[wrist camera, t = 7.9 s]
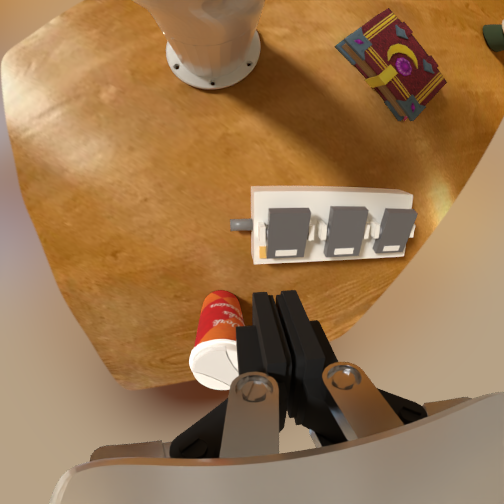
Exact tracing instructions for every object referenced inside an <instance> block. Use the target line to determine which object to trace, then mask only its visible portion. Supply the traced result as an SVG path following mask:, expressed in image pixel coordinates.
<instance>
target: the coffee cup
mask: <svg viewBox="0 0 504 504" xmlns="http://www.w3.org/2000/svg"><path fill="white" fill-rule="evenodd" d="M236 326H245V325H244V320H243V316H242V312H241V307H240V304H239V301H238V299H237V297H236V296H235V295H234V294H232V293H230V292H228V291H224V290H218V291H214V292H212V293H210V294H209V295H208V296H207V297H206V298H205V300H204V302H203V306H202V310H201V315H200V320H199V325H198V330H197V335H196V341H195V346H194V349H193V350H192V351H191V355H190V359H189V364H190V368H191V370H192V372H193V374H194V376H195V378H196V379H197V380H198V381H199V382H200V383H201V384H203V385H204V386H206V387H209V388H212V389H216V390H228V389H230V386H231V383H232V381H233V380H234V379H235V378H236V377H238V376H239V373H238V361H237V346H236Z"/></svg>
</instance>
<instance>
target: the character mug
mask: <svg viewBox="0 0 504 504" xmlns="http://www.w3.org/2000/svg"><path fill="white" fill-rule="evenodd" d="M483 33H484V36H485V38H486V41H487V43H488V45H489V46H490V48H491V49H492V50H493V51H496V52H498V51H503V50H504V20H503V21H502V25H485V26H483Z"/></svg>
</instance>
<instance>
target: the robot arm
mask: <svg viewBox="0 0 504 504" xmlns="http://www.w3.org/2000/svg"><path fill="white" fill-rule="evenodd" d="M132 1H134V2H135V3H137V4H139V5H141V6H142V7H144V8H146V9H147V10H148V11H149V12H150V13H151V15H152V16H153V17H154V19H155V20H156V22H157V24H158V26H159V27H160V29H161V31H162V32H163V34H164V35H165V37H166V39H167V40H168V41H167V46H166V58H167V61H168V64H169V66H170V68H171V70H172V71H173V73H174V74H175V75H176V76H177V77H178V78H179V79H180V80H181V81H183V82H185V83H186V84H188V85H190V86H193V87H196V88H200V89H206V90H216V89H222V88H226V87H229V86H232V85H234V84H236V83H238V82H240V81H241V80H242V79H244V78H245V77H246V76H247V75H248V74H249V73H250V72H251V71H252V70H253V68H254V67H255V65H256V63H257V61H258V59H259V55H260V50H261V45H260V38H259V35H258V33H257V31H256V27H257V25H258V22H259V19H260V16H261V13H262V10H263V7H264V3H265V0H132ZM247 64H250V65H251V66H247ZM176 67H179V69H176ZM211 83H215V85H213V86H212V85H211ZM236 346H237V361H238V373H239V376H238V377H236V378H235V379H234V380H233V381H232V383H231V386H230V391H229V397H228V398H227V399H226V400H225V401H224V402H222V403H221V404H220V405H219V406H217V407H216V408H215V409H213V410H212V411H211V412H210V413H208V414H207V415H206V416H205V417H203V418H202V419H200V420H199V421H198V422H196V423H195V424H194V425H192V426H191V427H190V428H188V429H187V430H186V431H185V432H183V433H181V434H180V435H179V436H177V437H176V438H175V439H174V440H173V441H172V442H166V443H162V441H161V440H160V441H152V442H143V443H133V444H122V445H106V446H102V447H99V448H98V449H96V450H94V452H93V453H92V455H91V457H90V462H86V463H83V464H80V465H76V466H74V467H72V468H70V469H69V470H67V471H66V472H65V473H64V474H63V475H62V476H61V478H60V479H59V481H58V483H57V484H56V487H55V489H54V491H53V494H52V496H51V499H50V502H49V504H504V392H496V393H491V394H486V395H482V396H479V397H476V398H473V399H472V398H468V397H461V398H455V399H449V400H444V401H436V402H429V403H424V405H423V406H421V405H419V404H417V403H415V402H413V401H410V400H407V399H404V398H402V397H399V396H396V395H393V394H391V393H388V392H385V391H383V390H380V389H378V388H376V387H375V385H374V384H373V383H372V382H371V380H370V379H369V378H368V376H367V375H366V374H365V372H364V371H363V370H362V369H361V368H360V367H358V366H357V365H355V364H352V363H349V362H338V360H337V358H336V356H335V354H334V352H333V350H332V348H331V345H330V344H329V341H328V339H327V337H326V335H325V333H324V331H323V329H322V327H321V325H320V323H319V321H317V320H315V321H309V319H308V317H307V314H306V312H305V310H304V308H303V305H302V303H301V301H300V299H299V296H298V294H297V292H296V290H290V291H281V295H276V305H275V301H274V298H273V295H268V294H267V292H257V293H253V325H252V326H236ZM286 411H288V415H289V417H290V418H294V419H295V423H296V425H300V424H302V425H303V426H304V427H307V428H308V429H309V433H310V436H311V438H312V440H313V442H314V444H315V446H316V448H314V449H308V450H302V451H295V452H289V453H281V454H279V432H280V431H281V430H282V429H283V428H284V423H285V418H286Z"/></svg>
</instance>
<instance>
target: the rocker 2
mask: <svg viewBox="0 0 504 504" xmlns="http://www.w3.org/2000/svg"><path fill="white" fill-rule="evenodd" d="M416 217H417V212H416V211H415V210H414V209H395V208H385V211H384V214H383V218H382V221H381V224H380V232H379V238H376V239H375V242H374V245H373V250H374V252H375V254H377V253H397V252H403V250H404V248H405V245H406V243H407V240H408V238H409V235H410V233H411V230H412V228H413V225H414V222H415V220H416Z"/></svg>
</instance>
